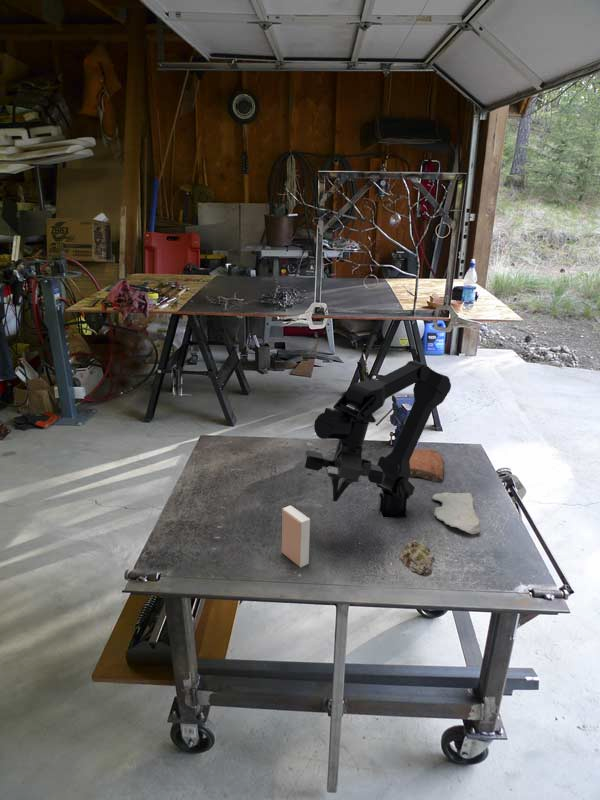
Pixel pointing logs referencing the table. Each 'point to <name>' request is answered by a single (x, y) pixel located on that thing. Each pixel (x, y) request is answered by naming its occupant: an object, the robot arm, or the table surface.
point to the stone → (457, 511)
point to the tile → (295, 535)
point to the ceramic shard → (427, 465)
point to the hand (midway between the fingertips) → (334, 500)
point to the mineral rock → (417, 557)
